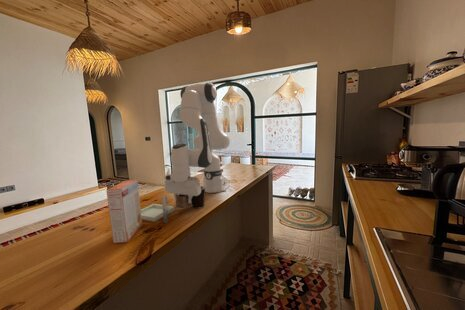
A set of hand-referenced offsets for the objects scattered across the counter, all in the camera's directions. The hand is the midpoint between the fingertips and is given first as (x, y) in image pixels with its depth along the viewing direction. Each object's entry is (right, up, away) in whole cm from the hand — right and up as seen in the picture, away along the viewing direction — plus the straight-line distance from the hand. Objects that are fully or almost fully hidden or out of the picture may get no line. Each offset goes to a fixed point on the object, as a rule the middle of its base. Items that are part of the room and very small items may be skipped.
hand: (183, 202), depth 103 cm
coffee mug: (+7, -4, +8) cm, 11 cm away
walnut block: (0, -2, 0) cm, 2 cm away
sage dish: (-14, -5, -3) cm, 15 cm away
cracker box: (-17, -8, -22) cm, 29 cm away
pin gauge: (-5, -6, -12) cm, 14 cm away
